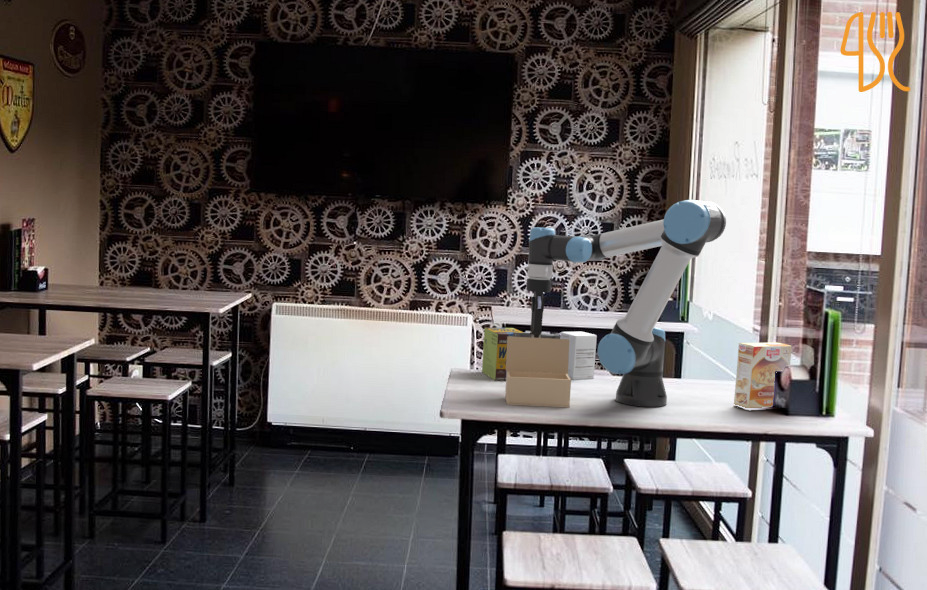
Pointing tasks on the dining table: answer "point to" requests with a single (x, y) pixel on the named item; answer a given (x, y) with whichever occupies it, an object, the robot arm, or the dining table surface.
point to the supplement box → (581, 354)
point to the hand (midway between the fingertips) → (534, 354)
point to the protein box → (496, 352)
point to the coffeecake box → (759, 372)
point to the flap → (537, 353)
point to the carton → (537, 389)
